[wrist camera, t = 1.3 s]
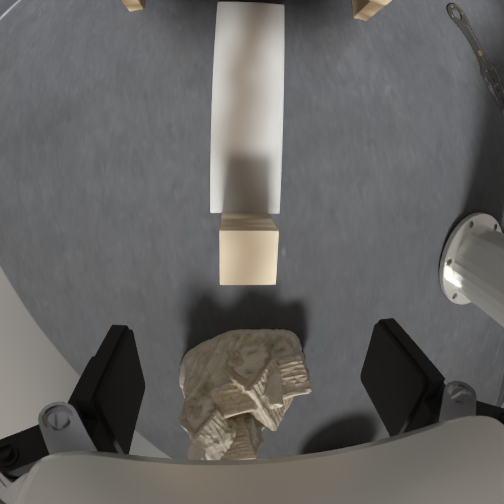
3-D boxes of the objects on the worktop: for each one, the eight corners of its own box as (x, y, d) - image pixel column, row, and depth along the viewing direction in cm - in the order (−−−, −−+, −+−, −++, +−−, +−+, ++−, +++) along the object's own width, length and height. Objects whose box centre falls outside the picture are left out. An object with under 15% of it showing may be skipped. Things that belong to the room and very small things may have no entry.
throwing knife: (455, 2, 20) (458, 1, 20) (518, 129, 26) (521, 129, 26) (439, 7, 21) (442, 6, 20) (506, 141, 27) (509, 141, 26)
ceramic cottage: (199, 426, 37) (200, 514, 23) (165, 335, 32) (144, 435, 18) (305, 407, 38) (338, 489, 24) (299, 312, 34) (350, 400, 19)
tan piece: (280, 13, 22) (297, -27, 14) (274, 249, 29) (289, 284, 22) (218, 10, 21) (215, -32, 14) (212, 249, 29) (206, 284, 21)
